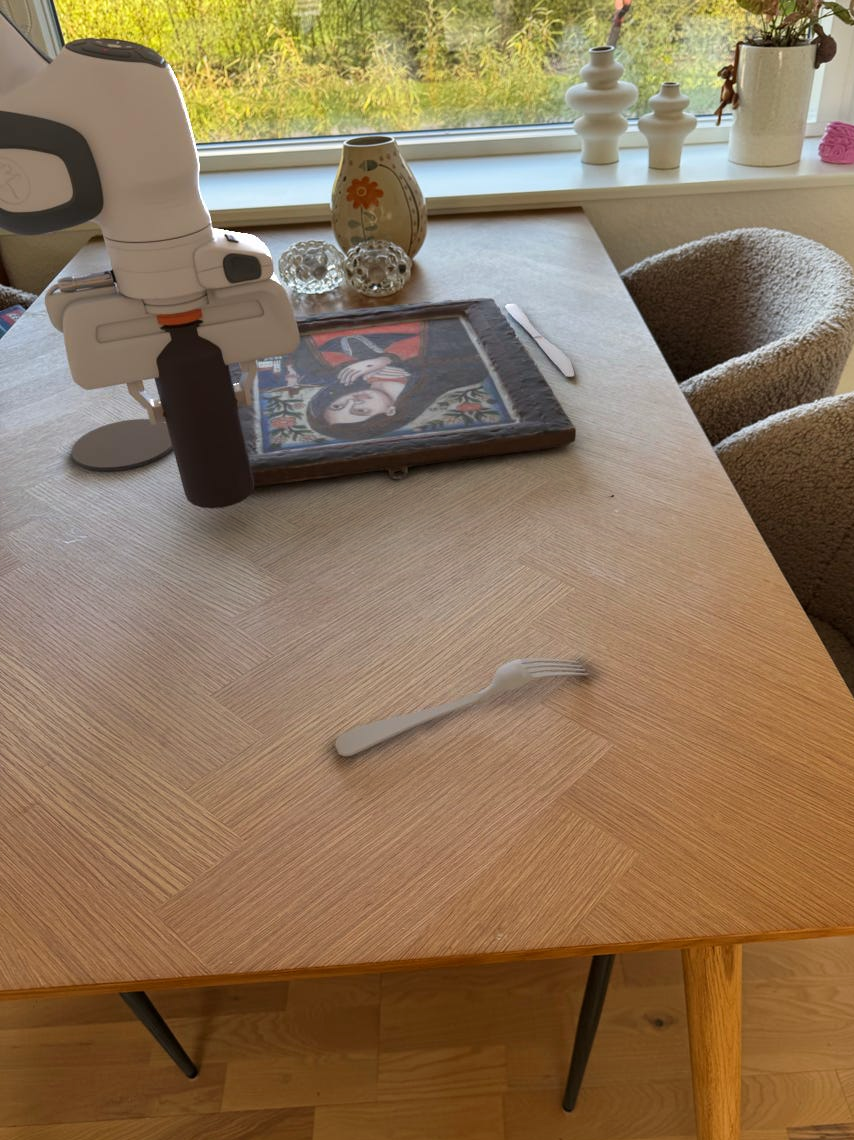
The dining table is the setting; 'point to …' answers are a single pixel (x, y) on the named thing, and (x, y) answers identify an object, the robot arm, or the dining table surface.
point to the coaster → (122, 445)
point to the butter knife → (542, 341)
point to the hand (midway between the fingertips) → (202, 412)
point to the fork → (453, 703)
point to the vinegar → (202, 415)
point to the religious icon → (397, 393)
